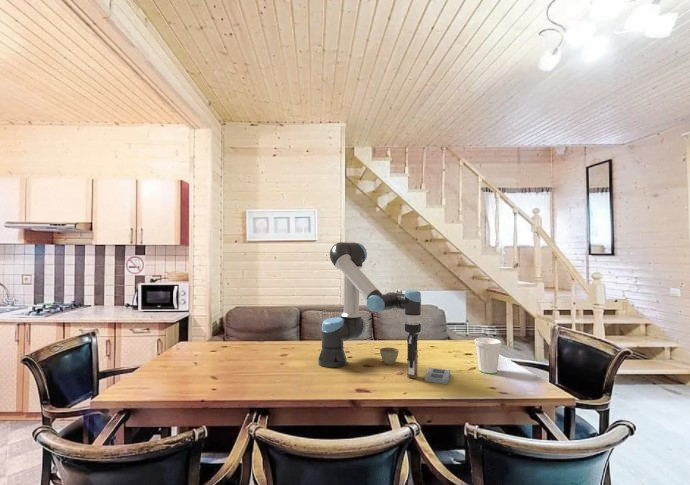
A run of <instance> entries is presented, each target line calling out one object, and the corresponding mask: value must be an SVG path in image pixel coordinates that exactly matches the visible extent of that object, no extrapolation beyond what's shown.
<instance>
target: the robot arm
mask: <svg viewBox="0 0 690 485" xmlns="http://www.w3.org/2000/svg"><path fill="white" fill-rule="evenodd" d="M367 258H368V252H367V249H366V247H365V246H364V244H362V243H359V242H345V241H344V242H343V241H340V242H339V241H338V242H336V243H335V244H333V245H332V246H331V248H330V250H329V259H330V261H331V263H332V265H333V266H334V267H335V268H336V269H337V270H340V271H341V272H342V273H343V276H344V277H343V280H344V281H343V312H342V313H341V314H340V317H337V316H334V317H329V318H326V319H324V320H322V322H321V329H320V330H321V349H320V352H319V355H318V360H317V362H318V363H317V364H318V365H319V366H321V367H324V368H340V367H345V366H346V365H347V363H348V362H347V360H348V358H347V357H346V356H347V355H346V353H345V349H344V342H346V341H351V340H356V339H359V338H361V337H362V336H363V335H364V333H365V331H366V323H365V321H364V318H362V314H361V313H360V294H361V295H362V296H363V298H364V299H365V300H366V306H367V309H368V310H369V311H370V312H373V313H380V312H383V311H389V310H394V309H395V310H396V309H397V310H404V331H405V332H406V333H408V335H407V359H406V361H407V360H409V366H408V374H411V375H414V373H415V360H414V350H418V338H419V337H418V335H419V333H421V331H422V328H421V327H422V324H421V323H422V319H423V316H422V314H421V312H422V311H421V310H422V308H421V307H422V296H421V295H422V294H421V292H420V291H419V290H412V289H411V290H410V289H409V290H405V291H404V293H400V292H393V291H392V292H391V291H389V292H386V293H385V294H383V293H382V292H381V291H380V290H379V289H378V288H377V286H375V285H374V283H373V282H372V281H371V280H370V279H369V277H367V276H366V274H365V273H363V271H362V270H361V269H362V268H363V263H364V262H366V260H367Z"/></svg>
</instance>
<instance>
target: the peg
mask: <svg viewBox="0 0 690 485" xmlns="http://www.w3.org/2000/svg"><path fill="white" fill-rule="evenodd" d="M418 351H419V350H418V349H417V350H414V360H415V373H414V375H411V374H408V366H409V360H407V359H406V361H407V367H406V368H407V369H406V370H407V373H406V374H407V375H406V376H407V378H412V379H416V378H417V377H418V366H419V365H418V364H419V363H418V359H419V355H418V354H419V353H418Z"/></svg>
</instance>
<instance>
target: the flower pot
mask: <svg viewBox="0 0 690 485" xmlns="http://www.w3.org/2000/svg"><path fill="white" fill-rule="evenodd" d="M399 351H400V350H399V349H398V348H395V347H387V346H386V347H381V348H380V349H379V353H380V357H381V359H382V361H383V364H385V365H389V366H391V365H394V364H395V363H396V361H397V358H398V356H399Z"/></svg>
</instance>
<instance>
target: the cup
mask: <svg viewBox="0 0 690 485" xmlns="http://www.w3.org/2000/svg"><path fill="white" fill-rule="evenodd" d="M474 344H475V347H476V348H475V349H476V356H477V364H478V371H479V372H480V373H482V374H486V375H495V374H497V373H498V368H499V367H498V366H499V357H500V351H501V349H500V348H501V346H502V341H501V340H500V339H498V338H490V337H476V338H474Z"/></svg>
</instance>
